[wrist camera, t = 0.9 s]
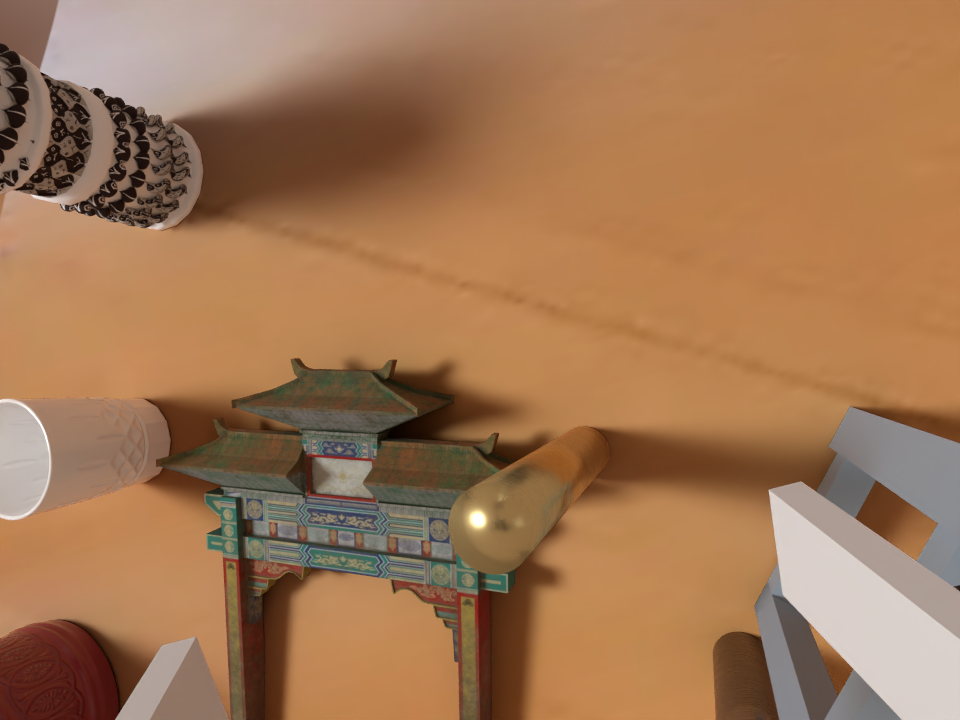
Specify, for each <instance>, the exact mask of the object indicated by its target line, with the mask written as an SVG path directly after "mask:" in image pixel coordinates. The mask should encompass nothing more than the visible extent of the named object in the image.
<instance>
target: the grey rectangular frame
mask: <svg viewBox="0 0 960 720" xmlns="http://www.w3.org/2000/svg"><path fill="white" fill-rule="evenodd" d="M829 447H830V448H831V449H833V450H834V451H835V452H837V454H836V456H835V458H834V460H833V462H832V464H831V465H830V467H829V469H828V471H827V473H826V475H825V477H824V478H823V480H822V482H821V484H820V486H819V488H818V489H817V491H816V492H817V493H819V494H820V495H822V496H823V497H824V498H826V499H827V500H829V501H830V502H832V503H833V504H835V505H836V506H837V507H839V508H840V509H842V510H843V511H845V512H846V513H848V514H849V515H850V516H852V517H853V518H855V517H856V516H857V514H858V512H859V510H860V509H861V507H862V505H863V503H864V501H865V500H866V498H867V496H868V494H869V492H870V491H871V489H872V487H873V485H874V483H875V482H876V480H877V481H878V482H880V483H881V484H882V485H884V486H885V487H887V488H888V489H890V490H891V491H892V492H894V493H895V494H897V495H898V496H900V497H901V498H902V499H904V500H905V501H907V502H908V503H909V504H911V505H912V506H914V507H915V508H917V509H918V510H919V511H921V512H922V513H924V514H925V515H927V516H928V517H929V518H931V519H932V520H934V521H935V522H937V523H938V525H937V526H936V528H935V530H934V532H933V533H932V535H931V537H930V538H929V540H928V542H927V544H926V545H925V547H924V549H923V551H922V552H921V554H920V556H919V557H918V559H917V562H918V563H920V564H921V565H923V566H924V567H925V568H927V569H928V570H930V571H931V572H933V573H934V574H936V575H937V576H938V577H940V578H941V579H943V580H944V581H946V582H947V583H949V584H950V585H951V586H953V587H954V586H958V585H960V443H957V442H954V441H951V440H948V439H945V438H942V437H939V436H936V435H933V434H930V433H927V432H924V431H921V430H918V429H915V428H912V427H909V426H906V425H903V424H901V423H898V422H895V421H892V420H889V419H886V418H883V417H880V416H877V415H874V414H871V413H868V412H865V411H862V410H859V409H856V408H853V407H850V408H849V409H848V411H847V413H846V415H845V417H844V419H843V421H842V422H841V424H840V426H839V428H838V430H837V432H836V434H835V435H834V437H833V439H832V441H831V443H830V445H829ZM754 607H755V611H756V616H757V621H758V625H759V630H760V634H761V639H762V643H763V648H764V652H765V657H766V661H767V666H768V670H769V675H770V680H771V684H772V689H773V693H774V698H775V702H776V707H777V711H778V716H779V720H902V719H901V718H900V717H899V716H898V715H897V714H896V713H895V712H894V711H893V710H892V709H891V708H890V707H889V706H888V705H887V704H886V703H885V701H884V700H883V699H882V698H881V697H880V696H879V695H878V694H877V693H876V692H875V691H874V690H873V689H872V688H871V687H870V686H869V685H868V684H867V683H866V682H865V681H864V679H863V678H862V677H861V676H860V675H859V674H858V673H857V672H856V671H855V670H853V671H852V673H851V675H850V676H849V678H848V680H847V682H846V683H845V685H844V687H843V689H842V690H841V692H840V694H839V695H837V693H836V690H835V688H834V686H833V683H832V681H831V678H830V676H829V673H828V671H827V668H826V666H825V663H824V661H823V659H822V656H821V654H820V651H819V649H818V646H817V644H816V641H815V639H814V636H813V634H812V632H811V629H810V627H809V624H808V622H807V620H806V619H805V618H804V617H803V615H802V614H801V613H800V612H799V611H798V610H797V609H796V608H795V607H794V606H793V605H792V604H791V603H790V602H789V601H788V600H787V599H786V598H785V597H784V596H783V593H782V586H781V579H780V571H779V564H778V563H777V565H776V567H775V569H774V571H773V572H772V574H771V576H770V578H769V580H768V582H767V584H766V585H765V587H764V589H763V591H762V593H761V595H760V596H759V598H758V600H757V602H756V604H755V606H754Z"/></svg>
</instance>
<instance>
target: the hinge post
mask: <svg viewBox="0 0 960 720" xmlns="http://www.w3.org/2000/svg"><path fill="white" fill-rule="evenodd" d="M713 669H714V691H715V713H716V720H779V716H778V711H777V707H776V702H775V698H774V693H773V689H772V684H771V680H770V675H769V670H768V666H767V661H766V657H765V652H764V648H763V643H762V642H761V641H760V640H758V639H757V638H756V637H754V636H752V635H750V634H747V633H744V632H731V633H728V634H725V635H724V636H722V637H721V638H720V639H719V640H718V641H717V642H716V644H715V646H714V649H713Z"/></svg>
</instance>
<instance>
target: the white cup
mask: <svg viewBox="0 0 960 720" xmlns="http://www.w3.org/2000/svg"><path fill="white" fill-rule="evenodd" d="M170 443H171V438H170V434H169V429H168V424H167V421H166V419H165V418H164V416H163V415H162V413H161V412H160V410H159V409H158V407H157V406H155V405H153V404H152V403H150V402H148V401H146V400H145V399H110V398H106V397H105V398H92V397H86V398H75V397H65V398H22V399H2V400H0V517H1V518H3V519H7V520H19V519H23V518H27V517H30V516H33V515H37V514H40V513H44V512H47V511H51V510H55V509H58V508H62V507H65V506H69V505H72V504H76V503H79V502H83V501H87V500H90V499H93V498H96V497H99V496H102V495H106V494H110V493H113V492H115V491H118V490H121V489H123V488H126V487H129V486H133V485H137V484H141V483H144V482H147V481H148V480H150V479H152V478H153V477H155V476H156V475H158V474H160V472H161V470H162V469H163V467H156V459H161V458H164V457H168V456H169V450H170Z"/></svg>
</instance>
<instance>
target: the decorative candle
mask: <svg viewBox="0 0 960 720" xmlns="http://www.w3.org/2000/svg"><path fill="white" fill-rule="evenodd" d="M203 173H204V171H203V165H202V158H201V152H200V150H199V148H198V146H197V144H196V142H195V141H194V139H193V137H192V135H191V134H190V133H188V132H187V131H185V130H184V129H183V128H181V127H180V126H178V125H177V124H175V123H167V122H162V117H161V116H160V115H156V116H155V115H150V116H149V118H148V116H147V114H145V109H144V108H143V107H138V108H137V109H135V108H134V107H132V106H130V105H125V103H124V101H123V100H122V99H121V98H118V97H115V98H112V97H110V96H105V94H104V92H103V91H102V90H101V89H99V88H93V89H91V90H90V91H89V90H88V89H87V88H85V87H81V86H78V85H76V84H74V83H71V82H69V81H63V80H54V79H53V78H51V77H49V76H48V75H46V74H43V73H41V72H40V71H39V69H38V68H37V67H36V66H34V65H33V64H32V63H30V62H29V61H28V60H27V59H25V58H24V57H23V56H21V55H19V54H17V53H16V52H14V51H11V50H9V48H8V47H7V46H6V45H4V44H0V193H1V194H4V193H7V192H9V191H11V190H16V191H20V192H24V193H28V194H31V195H32V196H33V197H34V198H37V199H41V200H45V201H50V202H54V203H59V204H60V206H61V208H62V209H63V210H65V211H69V212H70V211H74V210H76V211H77V212H78V213H81V214H85V215H87V216H93V215H95V214H96V215H97V216H98V217H100V218H104V219H105V220H107V221H110V222H120V223H123V224H126V225H128V226H138V227H141V228H149V229H155V230H160V231H161V230H164V229H167V228H170V227H173V226H176V225H178V224H179V223H180V222H181V221H182V220H183V219H184V218H185V217H186V216H187V215H188V214H189V213H191V211H192V209H193V207H194V205H195V203H196V201H197V199H198V197H199V195H200V192H201V185H202V179H203Z"/></svg>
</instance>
